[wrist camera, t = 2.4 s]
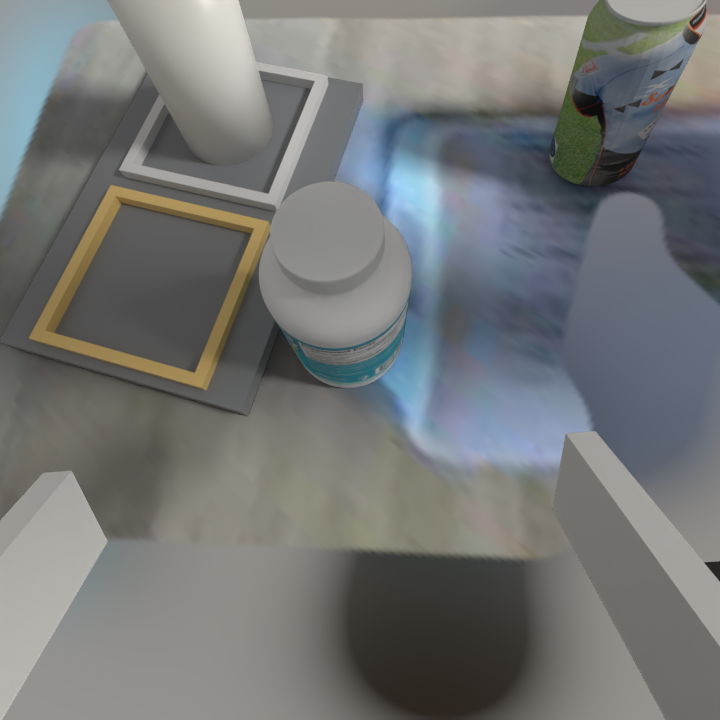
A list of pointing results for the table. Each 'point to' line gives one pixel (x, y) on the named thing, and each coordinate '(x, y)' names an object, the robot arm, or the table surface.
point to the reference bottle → (202, 73)
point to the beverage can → (622, 84)
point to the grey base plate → (181, 247)
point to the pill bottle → (337, 283)
